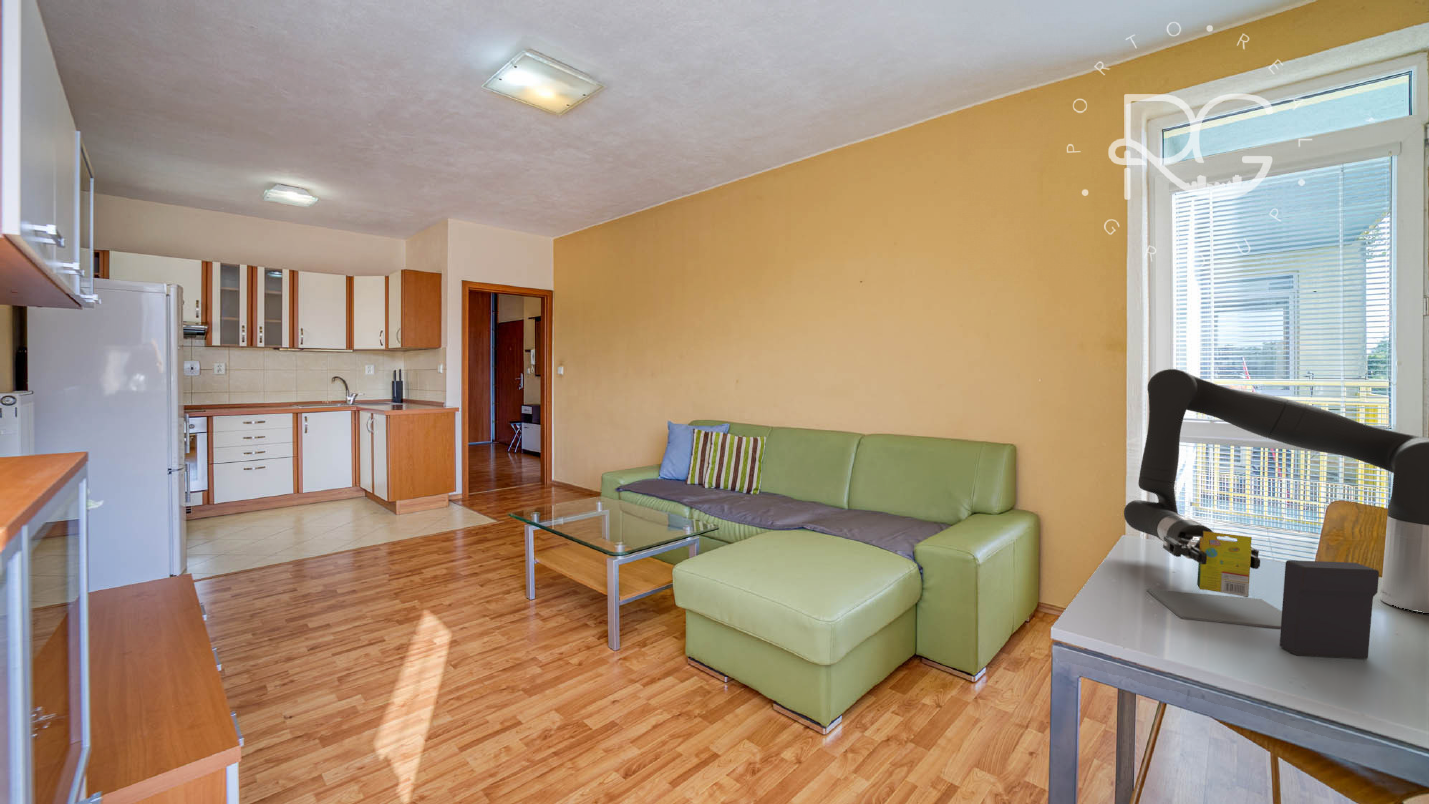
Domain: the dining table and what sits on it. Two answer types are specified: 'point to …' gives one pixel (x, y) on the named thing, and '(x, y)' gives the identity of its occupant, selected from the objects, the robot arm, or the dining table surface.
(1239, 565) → the crayon box
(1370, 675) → the dining table surface
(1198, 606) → the mat
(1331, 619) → the black square block
